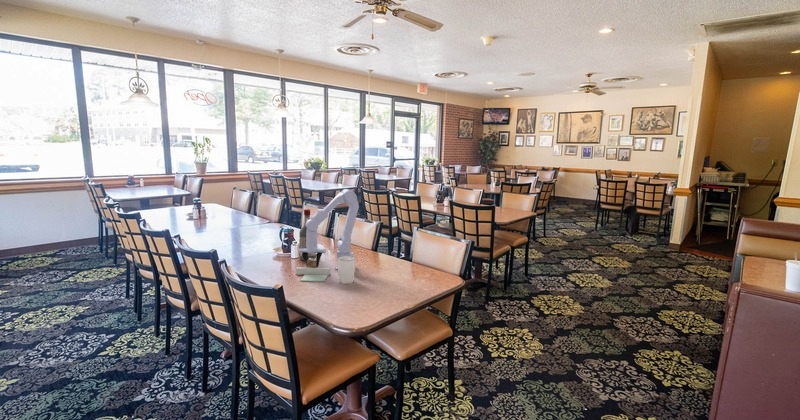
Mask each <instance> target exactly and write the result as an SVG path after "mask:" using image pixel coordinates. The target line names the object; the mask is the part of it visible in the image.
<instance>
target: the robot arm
mask: <svg viewBox="0 0 800 420" xmlns="http://www.w3.org/2000/svg"><path fill="white" fill-rule="evenodd" d="M345 203H346V204H347V206H348V210H347V215H346V217H345V218H346V219H345V222H344V225H343V229H342V231H341V235H340V236H339V238H338V240H337V241H336V244H335V246H336V248H337V251H336V263H337V262H338V258H339V257H344V256H350V257H354V258H355V252H352V251H351V249H352V248H351V246H352V245H351V243H352V238H351V237H352V234H353V229H354V226H355V223H356V218H357V215H358V212H359V209H360V205H359V200H358V196H357V194H356V193H355V192H354V191H353V190H350V189H349V188H344V189H342V190H341V191H340V192H338V194H337V195H335V197H333V199H331V200H330V202H329V203H328V204H326V206H325V207H324V208H320V209H317V210H316V213H315V214H314V215H313V216H310V219H309V220H307V222H306V224H305V223H304V224H305V226H306V228H307V230H306V232H307V233H306V239H307V248H305V249H300V248H299V249H298V251H297V252H298V254H300V253H302V256H303V258H304V260H305V261H304V263H305V265H306V267H307V260H308V253H316V259H317V266H318V267H319V265H320V260H321V257H322V256H323V254H325V255H326V252H327V249H326V248H319V247H318V229H319V226H320V225H321V224H322V223H323V222H325V220H327V218H328V217H329V213H331V211H332V210H334V209H335V208H336V207H337V206H338V205H339V204H345ZM335 270H338V266H337V265H336V267H335Z"/></svg>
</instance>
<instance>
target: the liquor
mask: <svg viewBox="0 0 800 420" xmlns="http://www.w3.org/2000/svg"><path fill="white" fill-rule="evenodd" d="M303 216H304V223H303V226H302V227H301V229H300V230H299V233H298V234H299V249H305V248H307V239H306V233H307V232H306V230H307V228H306V226H305V224H306V222H307V220H309V219H311V218H310V217H311V209H309V208H307V209H303ZM316 254H317V253H308V259H309V258H316ZM299 259H300V260H301V261H302V260H303V262H305V260H304V258H303V256H302V253H299Z"/></svg>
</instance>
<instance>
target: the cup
mask: <svg viewBox="0 0 800 420" xmlns="http://www.w3.org/2000/svg"><path fill="white" fill-rule="evenodd" d="M336 266H338V269H337V271H338V278H339V283H340V284H343V285H348V284H352V283H353V282H354V277H355V273H356V258H355V256H354V257H350V256H344V257H339V258H338V262H337V261H336Z"/></svg>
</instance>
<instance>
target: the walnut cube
mask: <svg viewBox="0 0 800 420" xmlns="http://www.w3.org/2000/svg"><path fill="white" fill-rule="evenodd" d="M306 268H319V266H317V259H316V258H309V259H308V260H307V266H306Z"/></svg>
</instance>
